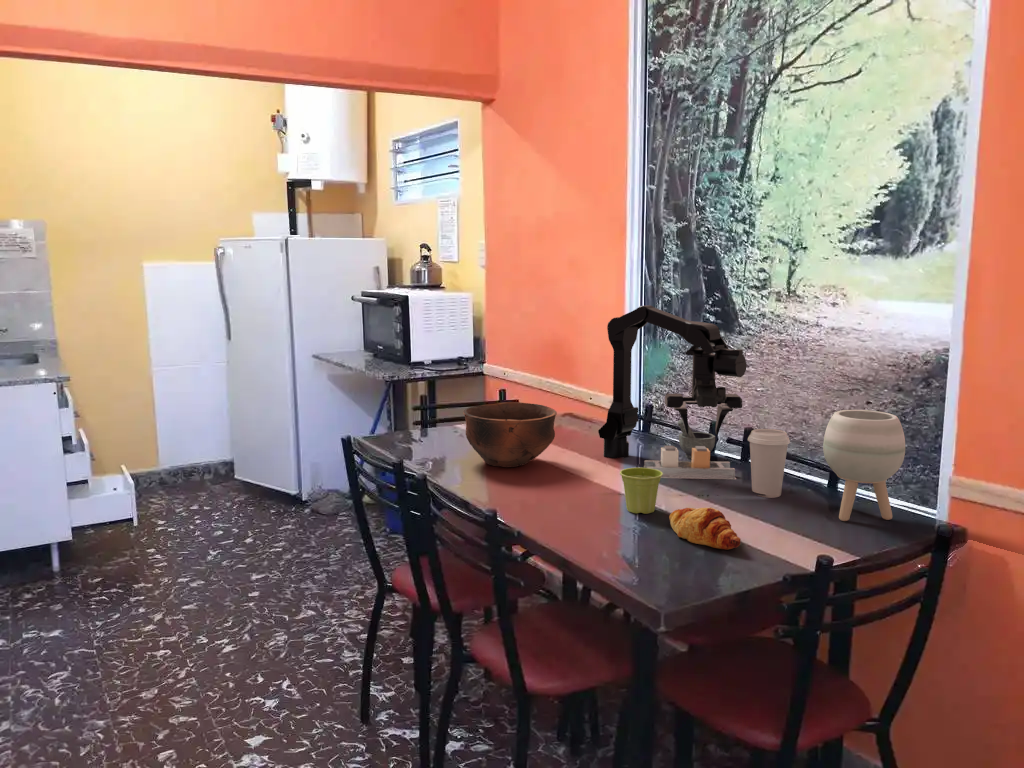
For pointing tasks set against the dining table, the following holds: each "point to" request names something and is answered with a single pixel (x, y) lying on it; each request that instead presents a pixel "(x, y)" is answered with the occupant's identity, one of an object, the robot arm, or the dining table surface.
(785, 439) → the coffee cup
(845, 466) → the planter
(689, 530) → the croissant
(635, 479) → the plant pot
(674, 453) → the block
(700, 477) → the grey tray
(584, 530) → the dining table surface
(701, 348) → the robot arm
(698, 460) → the block
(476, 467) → the dining table surface
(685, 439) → the mortar and pestle
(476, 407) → the bowl
